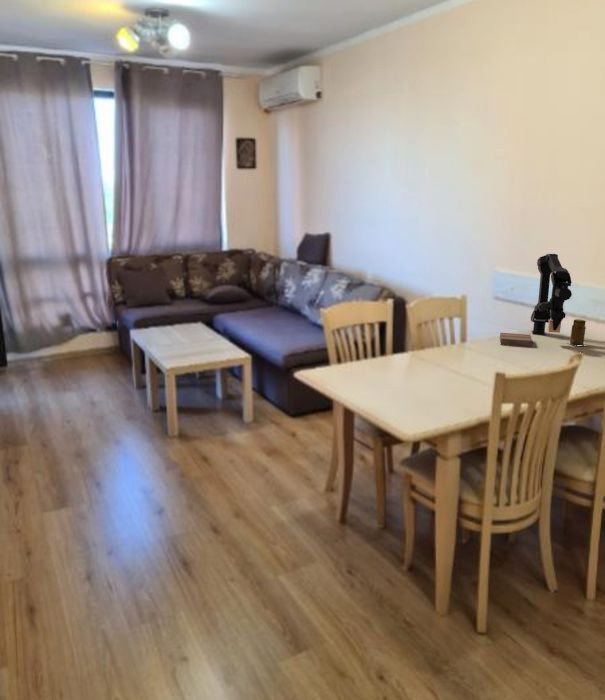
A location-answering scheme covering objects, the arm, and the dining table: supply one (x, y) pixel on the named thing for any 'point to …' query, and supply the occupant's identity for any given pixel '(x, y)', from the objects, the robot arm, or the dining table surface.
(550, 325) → the cube
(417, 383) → the dining table surface
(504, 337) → the base plinth
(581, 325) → the condiment
